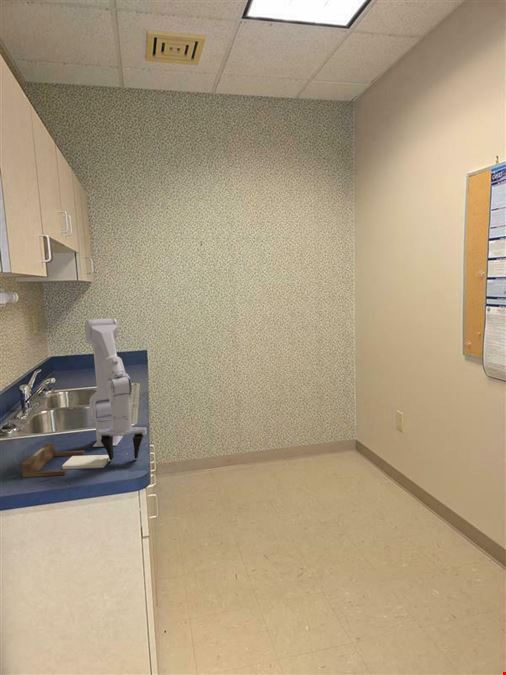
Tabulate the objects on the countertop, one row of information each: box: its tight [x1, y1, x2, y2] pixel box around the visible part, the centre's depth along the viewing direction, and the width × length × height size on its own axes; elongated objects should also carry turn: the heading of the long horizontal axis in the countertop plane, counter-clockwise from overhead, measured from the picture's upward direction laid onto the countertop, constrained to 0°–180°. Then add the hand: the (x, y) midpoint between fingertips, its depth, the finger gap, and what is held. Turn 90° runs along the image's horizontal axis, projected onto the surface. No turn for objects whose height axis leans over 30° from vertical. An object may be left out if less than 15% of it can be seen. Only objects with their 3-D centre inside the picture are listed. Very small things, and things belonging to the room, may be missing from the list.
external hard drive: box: [61, 454, 111, 470], centre depth 134 cm, size 2×8×12 cm
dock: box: [21, 442, 85, 478], centre depth 134 cm, size 17×12×4 cm
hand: (124, 458), depth 135 cm, fingers open, 7 cm apart
